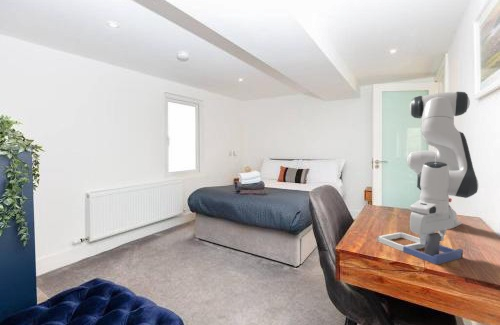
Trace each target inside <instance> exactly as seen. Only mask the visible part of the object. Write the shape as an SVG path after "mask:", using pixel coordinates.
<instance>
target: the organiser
mask: <svg viewBox="0 0 500 325" xmlns="http://www.w3.org/2000/svg"><path fill="white" fill-rule="evenodd" d="M400 238H402V239H405V240H408V241H411V242H413V243H411V244H405V245H403V244H401V243H397V242H396V241H393V240H396V239H400ZM376 242H379V243H381V244H383V245H386V246H389V247H391V248H393V249H396V250H398V251H400V252H403V253H406V254H408V255H412V256H413V257H416V258H418V259H420V260H422V261H423V260H424V261H425V262H428V263H431V264H433V265H441V264H445V263H448V262H452V261H455V260H458V259H463V256H464V249H462V248H457V249H455V248H451V247H448V246H445V245H442V244H440V245H439V254H436V255H434V257H433V256H430V255H428V254H425V252H423V251H419V250H420V249H425V245H423V244H421V243H420V238H419V236H414V235H411V234H408V233H405V232H403V231H399V232H394V233H389V234H383V235H377V236H376ZM440 252H441V253H440Z"/></svg>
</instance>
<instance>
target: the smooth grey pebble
mask: <svg viewBox="0 0 500 325" xmlns="http://www.w3.org/2000/svg"><path fill="white" fill-rule="evenodd" d="M425 237H426V240H428V242H427V244H426V245H425V248H424V253H425V254H428V255H430V256H433V257H434V255H436V254H440V251H439V245H441V244H440V243H441V241H440V234H439V233H438V232H437V231H435V232H430V233H426V236H425Z"/></svg>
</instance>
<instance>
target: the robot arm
mask: <svg viewBox="0 0 500 325" xmlns="http://www.w3.org/2000/svg"><path fill="white" fill-rule="evenodd" d="M470 103H471V101H470V97H469V95H468V94H467V92H464V91H455V92H453V91H451V92H438V93H432V94H426V95H419V96H415V97H413V98H412V99H411V102H410V103H409V108H408V109H409V113H410V115H411V117H413V118H415V119H421V134H422V137H423V138H422V139H423V141H424V143H426V144H427V145H429V146H431V147H434V148H435V149H436V150H435V149H434V150H429V149H428V150H426V149H423V150H414V151H410V153H409V154H408V155H407V156H406V164H407V166H408V167H409V168H410V169H411V170H413V171H414V172H415V173H416V175H417V177H416V178H417V181H416V183H417V185H416V188H418V190H420V194H419V199H418V200H417V201H415V202H414V203H412V204H410V206H409V208H410V209H409V210H410V211H411V212H410V216H409V228H410V231H411V232H412V233H413V234H417V237H418V238H420V243H421V244H423V245H426V244H427V242H428V240H426V237H425V236H426V233H430V232H437V233H439V234H440V242H442V241H444V239H445V238H444V237H445V235H446V233H447V230H449V229H454V228H455V227H458V226H460V225H463V222H462V221H461V220H458V219H457V212H456V211H455V210H454V209H453V208H452V207H451V205H450V203H452V198H449V196H453V197H458V198H465V199H467V198H470V197H472V196H474V195H475V194H477V193H478V189H479V181H478V177H477V175H476V172H475V168H474V165H473V162H472V158H471V153H470V150H469V144H468V142H467V138H466V135H465V134H464V133H463V132H461V131H459V130H458V129H457V127H456V125H455V118H454V117H457V116H462V115H464V114H465V113H467V110H468V109H469V107H470V105H471V104H470Z"/></svg>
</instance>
